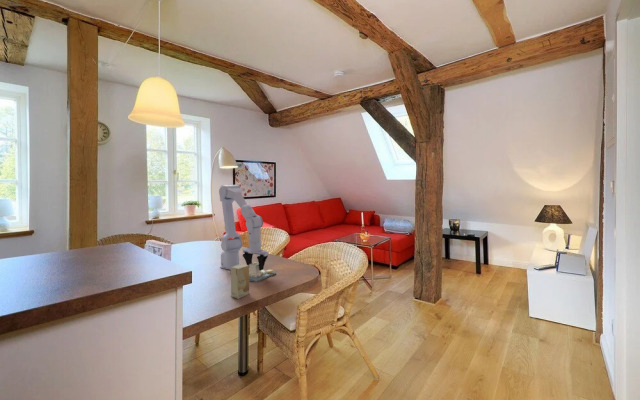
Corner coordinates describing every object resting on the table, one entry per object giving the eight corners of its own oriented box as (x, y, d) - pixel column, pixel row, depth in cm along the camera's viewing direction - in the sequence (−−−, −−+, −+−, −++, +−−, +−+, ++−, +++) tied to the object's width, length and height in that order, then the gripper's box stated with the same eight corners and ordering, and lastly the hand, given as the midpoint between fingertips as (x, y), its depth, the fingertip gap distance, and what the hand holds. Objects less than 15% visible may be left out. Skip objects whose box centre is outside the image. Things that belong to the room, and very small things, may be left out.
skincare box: (238, 299, 120) (237, 268, 119) (230, 297, 122) (229, 267, 121) (250, 293, 125) (249, 264, 125) (242, 291, 128) (241, 263, 127)
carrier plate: (234, 277, 146) (234, 269, 146) (254, 269, 158) (254, 262, 158) (256, 282, 139) (256, 274, 139) (275, 273, 151) (275, 266, 151)
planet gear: (242, 275, 147) (242, 264, 147) (254, 270, 155) (254, 260, 154) (256, 277, 143) (255, 267, 142) (268, 272, 150) (267, 262, 150)
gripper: (237, 241, 148) (238, 268, 149) (260, 244, 140) (261, 273, 141) (248, 238, 154) (248, 264, 155) (270, 241, 146) (271, 269, 148)
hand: (255, 268), depth 149 cm, fingers open, 7 cm apart
